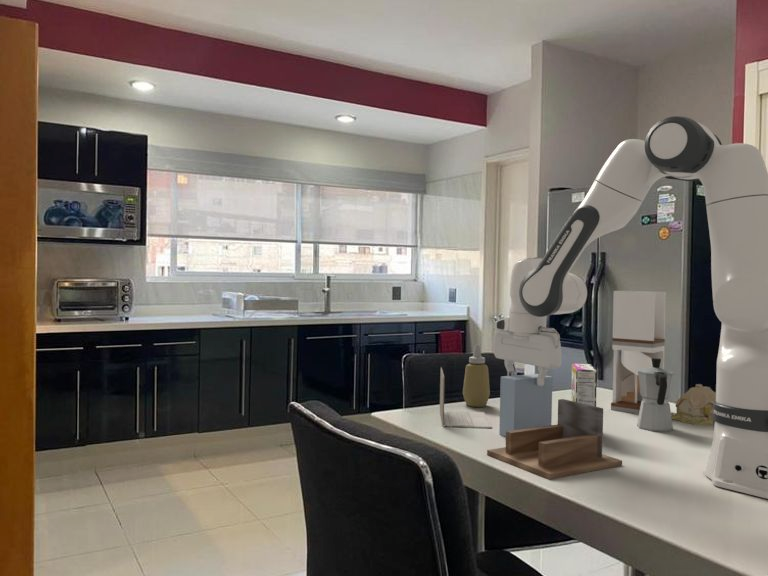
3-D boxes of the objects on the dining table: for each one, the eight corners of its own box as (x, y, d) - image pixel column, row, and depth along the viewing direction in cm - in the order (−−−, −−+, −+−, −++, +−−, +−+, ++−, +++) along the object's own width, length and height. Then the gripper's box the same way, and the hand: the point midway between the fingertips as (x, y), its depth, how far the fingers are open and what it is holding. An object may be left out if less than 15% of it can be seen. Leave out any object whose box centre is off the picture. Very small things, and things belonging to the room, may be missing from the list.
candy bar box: (569, 427, 156) (571, 363, 156) (590, 428, 155) (591, 364, 155) (574, 437, 145) (575, 368, 145) (596, 439, 144) (598, 369, 144)
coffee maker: (631, 421, 164) (633, 354, 164) (666, 423, 163) (668, 356, 163) (643, 434, 150) (645, 361, 150) (682, 437, 148) (683, 363, 148)
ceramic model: (694, 426, 161) (695, 388, 161) (662, 417, 171) (663, 381, 171) (736, 423, 165) (737, 386, 165) (702, 415, 176) (703, 380, 175)
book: (551, 434, 148) (552, 376, 148) (513, 439, 142) (514, 379, 142) (536, 429, 153) (537, 373, 153) (499, 434, 147) (500, 376, 147)
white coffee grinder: (610, 409, 180) (613, 290, 179) (623, 404, 188) (626, 291, 187) (651, 415, 172) (654, 291, 172) (663, 410, 180) (665, 291, 180)
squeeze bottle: (462, 402, 186) (463, 343, 186) (489, 403, 185) (490, 344, 185) (462, 407, 178) (463, 346, 178) (490, 408, 177) (491, 346, 177)
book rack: (621, 465, 123) (623, 410, 123) (549, 479, 113) (550, 420, 113) (556, 444, 139) (557, 395, 139) (487, 454, 129) (488, 402, 129)
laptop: (492, 430, 153) (493, 378, 153) (441, 428, 153) (442, 376, 153) (484, 414, 171) (485, 368, 171) (439, 413, 171) (440, 367, 171)
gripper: (569, 328, 140) (566, 388, 140) (509, 321, 158) (507, 374, 158) (549, 329, 137) (546, 390, 137) (490, 321, 155) (488, 376, 155)
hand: (525, 382), depth 148 cm, fingers open, 8 cm apart
